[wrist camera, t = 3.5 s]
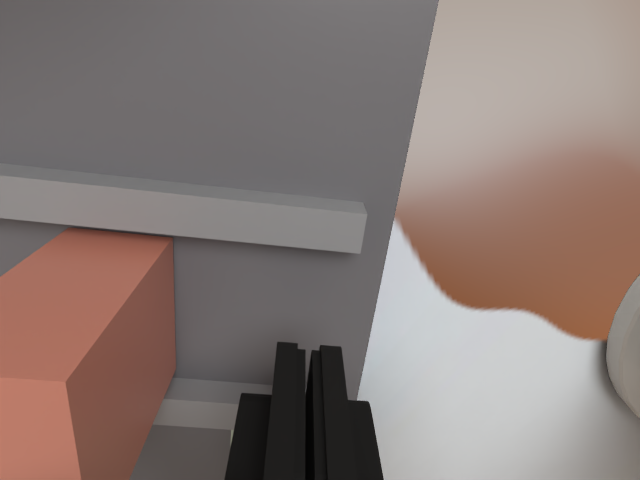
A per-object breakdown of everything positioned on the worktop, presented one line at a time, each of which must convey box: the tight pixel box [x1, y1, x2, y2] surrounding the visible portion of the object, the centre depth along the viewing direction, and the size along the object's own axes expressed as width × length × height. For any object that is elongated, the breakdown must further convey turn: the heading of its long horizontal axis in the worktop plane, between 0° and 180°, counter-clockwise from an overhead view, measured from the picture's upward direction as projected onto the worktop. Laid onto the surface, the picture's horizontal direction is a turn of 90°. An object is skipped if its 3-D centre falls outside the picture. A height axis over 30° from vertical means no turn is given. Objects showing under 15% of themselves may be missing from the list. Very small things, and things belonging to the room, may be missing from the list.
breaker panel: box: [0, 0, 439, 480], centre depth 14 cm, size 15×20×4 cm
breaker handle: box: [0, 227, 176, 480], centre depth 11 cm, size 3×5×6 cm, turn 173°
